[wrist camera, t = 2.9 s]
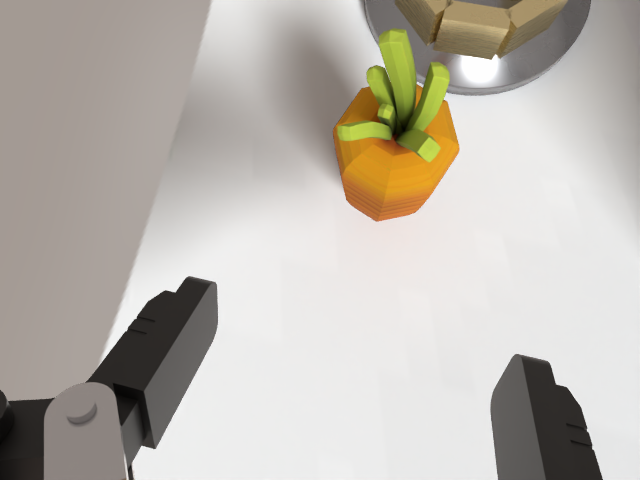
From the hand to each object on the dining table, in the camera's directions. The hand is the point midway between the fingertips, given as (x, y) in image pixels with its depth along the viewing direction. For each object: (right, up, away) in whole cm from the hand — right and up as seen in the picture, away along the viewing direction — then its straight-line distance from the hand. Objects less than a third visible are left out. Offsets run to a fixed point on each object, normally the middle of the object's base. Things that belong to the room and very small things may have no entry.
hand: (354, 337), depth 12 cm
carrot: (+3, +5, +16) cm, 17 cm away
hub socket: (+9, +19, +17) cm, 27 cm away
